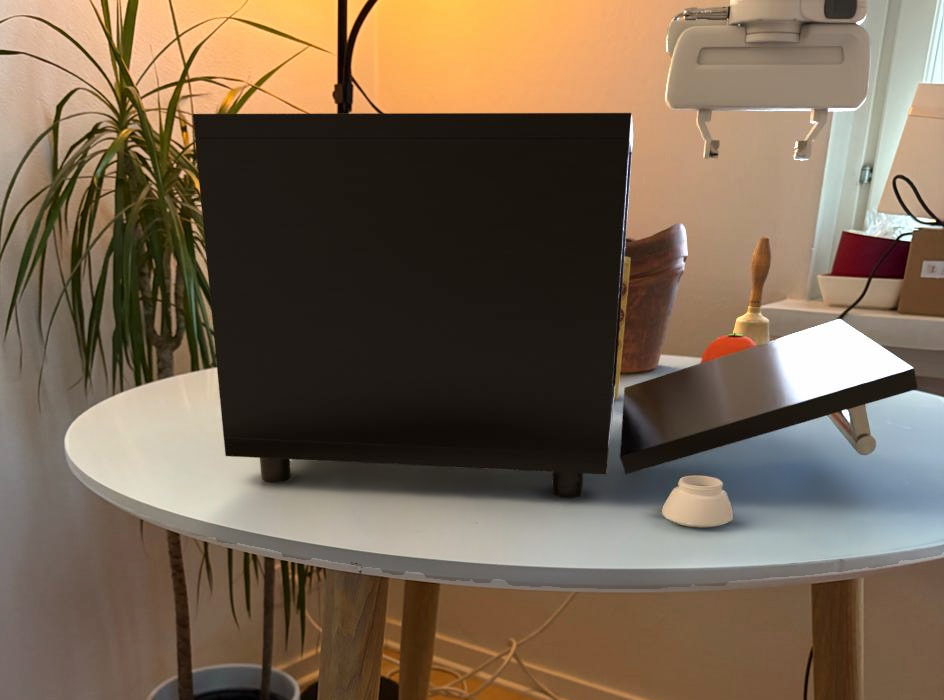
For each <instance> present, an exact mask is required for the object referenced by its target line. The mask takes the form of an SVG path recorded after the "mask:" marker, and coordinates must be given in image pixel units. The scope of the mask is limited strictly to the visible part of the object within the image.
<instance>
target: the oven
mask: <svg viewBox="0 0 944 700" xmlns="http://www.w3.org/2000/svg"><path fill="white" fill-rule="evenodd" d="M192 123H193V134H194V145H195V154H196V164H197V175H198V176H197V177H198V185H199V194H200V195H199V197H200V206H201V216H202V227H203V237H204V247H205V259H206V267H207V268H206V269H207V277H208V278H207V279H208V286H209V287H208V289H209V297H210V298H209V299H210V300H209V301H210V310H211V320H212V330H213V342H214V351H215V362H216V371H217V383H218V391H219V403H220V412H221V422H222V424H221V425H222V433H223V443H224V444H223V445H224V454H225V455H224V456H225V457H232V458H233V457H236V458H254V459H255V458H256V459H259V466H260V476H261V481H262V482H265V483H270V484H271V483H275V484H276V483H277V484H278V483H284V482H285V483H286V482H288V481H290V480H291V479H292V472H291V460H297V461H298V460H299V461H317V462H335V463H336V462H337V463H338V462H339V463H355V464H357V463H359V464H375V465H376V464H377V465H378V464H382V465H397V466H398V465H399V466H419V467H438V468H439V467H441V468H457V469H459V468H461V469H462V468H463V469H477V470H478V469H481V470H498V471H499V470H501V471H518V472H519V471H521V472H542V473H552V485H551V495H553V496H555V497H557V498H562V499H575V498H580V497H582V495H583V490H584V489H583V488H584V475H603V476H606V475H607V474H608V473H607V472H608V461H609V454H610V443H611V435H612V434H611V433H612V424H613V417H614V405H615V399H614V398H615V384H616V370H617V356H618V342H619V327H620V313H621V299H622V285H623V271H624V257H625V243H626V237H627V228H628V226H627V225H628V213H629V212H628V211H629V198H630V186H631V185H630V184H631V172H632V157H633V142H634V129H633V127H634V126H633V114H632V112H411V113H410V112H405V113H403V112H401V113H400V112H398V113H397V112H395V113H394V112H393V113H392V112H391V113H390V112H389V113H388V112H385V113H383V112H380V113H377V112H376V113H375V112H373V113H372V112H371V113H369V112H368V113H365V112H364V113H363V112H362V113H361V112H360V113H358V112H355V113H353V112H352V113H351V112H350V113H342V112H341V113H339V112H337V113H334V112H333V113H331V112H329V113H325V112H324V113H323V112H322V113H321V112H320V113H316V112H315V113H192Z"/></svg>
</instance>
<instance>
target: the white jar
mask: <svg viewBox="0 0 944 700" xmlns="http://www.w3.org/2000/svg"><path fill="white" fill-rule="evenodd" d="M677 485H678V486H676V487H674V488H673V489H672V490H671V492H670V494H669V496H668V497H667V499H666V501H664V504H663V505H662V509H661V515H662V516H663V517H664V518H666V519H667V520H669V521H671V522H672V523H675V524H678V525H681V526H685V527H690V528H700V529H701V528H714V527H720V526H722V525H726V524H727V523H729V522H731V521H732V520H733V517H734V510H733V508H732V505H731V501H730V498H729V496H728V493H727V491H725V490H724V489H723V486H724V483H723V481H722V480H720V479H719V478H717V477H713V476H708V475H686V476H682V477H681V478H679V480H678V482H677Z"/></svg>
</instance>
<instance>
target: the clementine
mask: <svg viewBox="0 0 944 700" xmlns="http://www.w3.org/2000/svg"><path fill="white" fill-rule="evenodd" d="M754 346H757V345H756V344H755V343H754V342H753V341H752V340H751V339H750V338H748V337H746V336H743V335H741V334H735V333H734V334H733V333H729V334H724V335H721V336H719V337H717V338H716V339H715V340H713V341H711V343H709V345H708V346H706V348H705V350H704V352H703V354H702V356H701V360H700V363H703V362H706V361H710V360H713V359H716V358H719V357H722V356H725V355H728V354H732V353H735V352H738V351H741V350H744V349H747V348H750V347H754Z"/></svg>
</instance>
